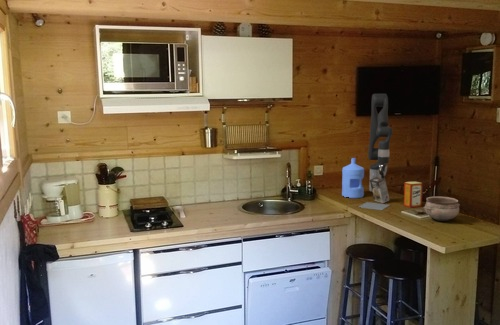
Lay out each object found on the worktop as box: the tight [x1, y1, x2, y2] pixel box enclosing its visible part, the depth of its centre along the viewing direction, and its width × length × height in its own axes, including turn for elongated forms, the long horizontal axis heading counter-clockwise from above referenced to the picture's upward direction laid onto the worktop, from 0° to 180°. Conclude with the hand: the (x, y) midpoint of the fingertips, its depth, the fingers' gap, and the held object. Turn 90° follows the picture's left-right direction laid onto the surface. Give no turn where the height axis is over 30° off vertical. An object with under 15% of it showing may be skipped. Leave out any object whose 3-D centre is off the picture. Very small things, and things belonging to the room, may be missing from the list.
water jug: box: [341, 157, 365, 199], centre depth 340 cm, size 16×16×28 cm
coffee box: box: [369, 177, 390, 204], centre depth 322 cm, size 9×6×16 cm
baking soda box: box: [403, 181, 424, 209], centre depth 310 cm, size 10×6×16 cm
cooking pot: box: [423, 196, 461, 222], centre depth 276 cm, size 25×19×12 cm
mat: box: [358, 201, 391, 211], centre depth 311 cm, size 16×16×1 cm
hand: (383, 180), depth 322 cm, fingers closed
